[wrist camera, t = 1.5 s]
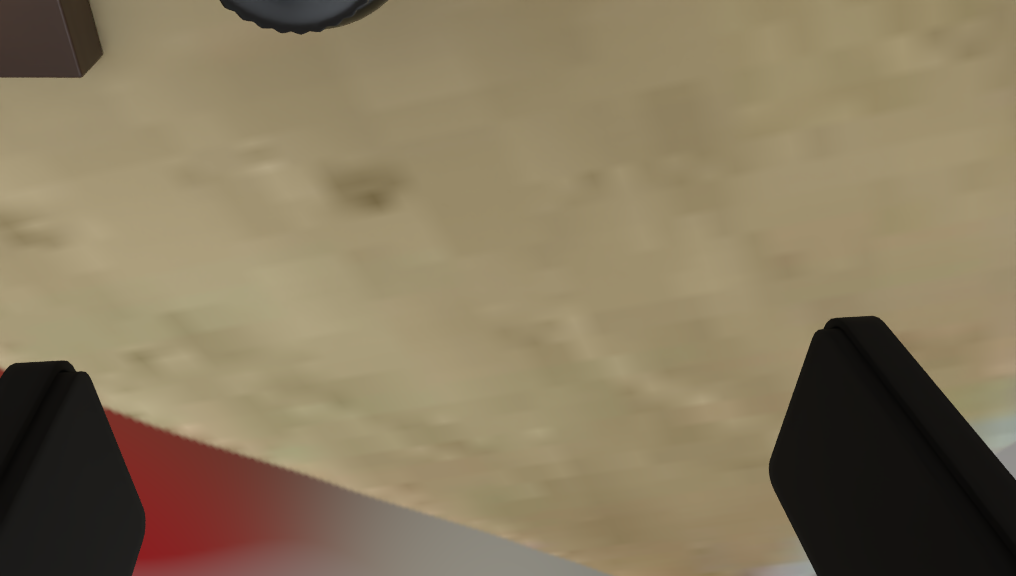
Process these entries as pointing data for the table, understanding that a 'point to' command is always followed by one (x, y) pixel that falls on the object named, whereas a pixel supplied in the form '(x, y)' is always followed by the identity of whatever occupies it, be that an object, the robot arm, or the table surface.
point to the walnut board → (47, 38)
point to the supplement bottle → (302, 13)
